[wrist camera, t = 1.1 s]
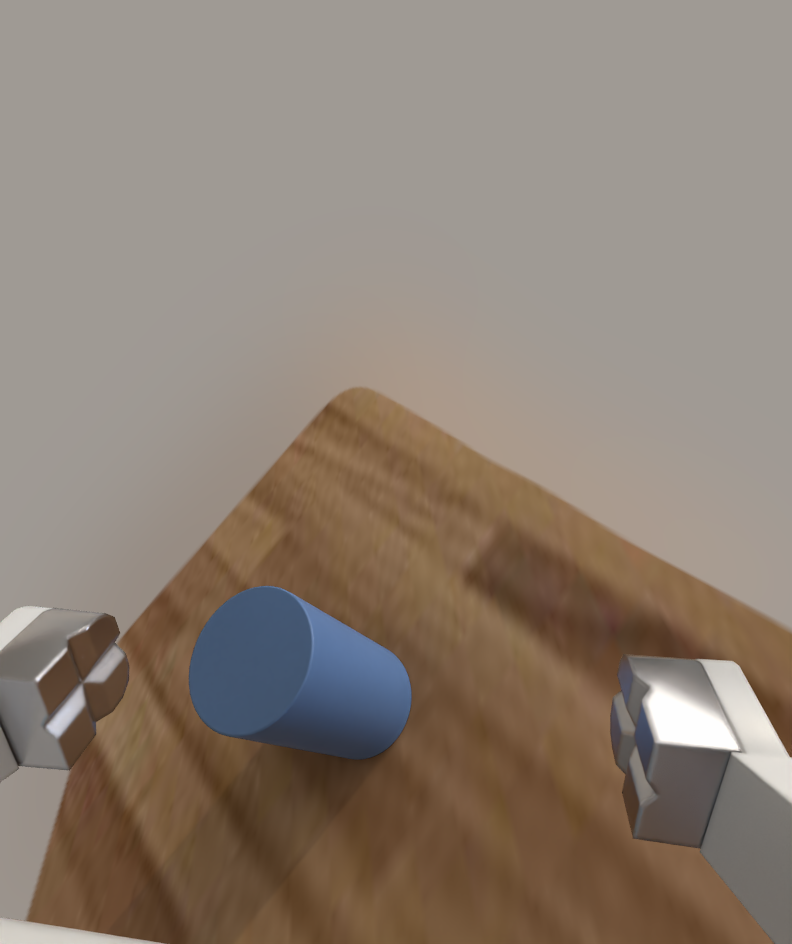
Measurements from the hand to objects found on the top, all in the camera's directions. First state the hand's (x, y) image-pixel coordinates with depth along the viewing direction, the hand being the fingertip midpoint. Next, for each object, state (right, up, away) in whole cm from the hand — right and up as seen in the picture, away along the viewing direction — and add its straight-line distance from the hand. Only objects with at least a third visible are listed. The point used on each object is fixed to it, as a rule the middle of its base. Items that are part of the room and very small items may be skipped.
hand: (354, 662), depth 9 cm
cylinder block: (-1, -9, +21) cm, 22 cm away
